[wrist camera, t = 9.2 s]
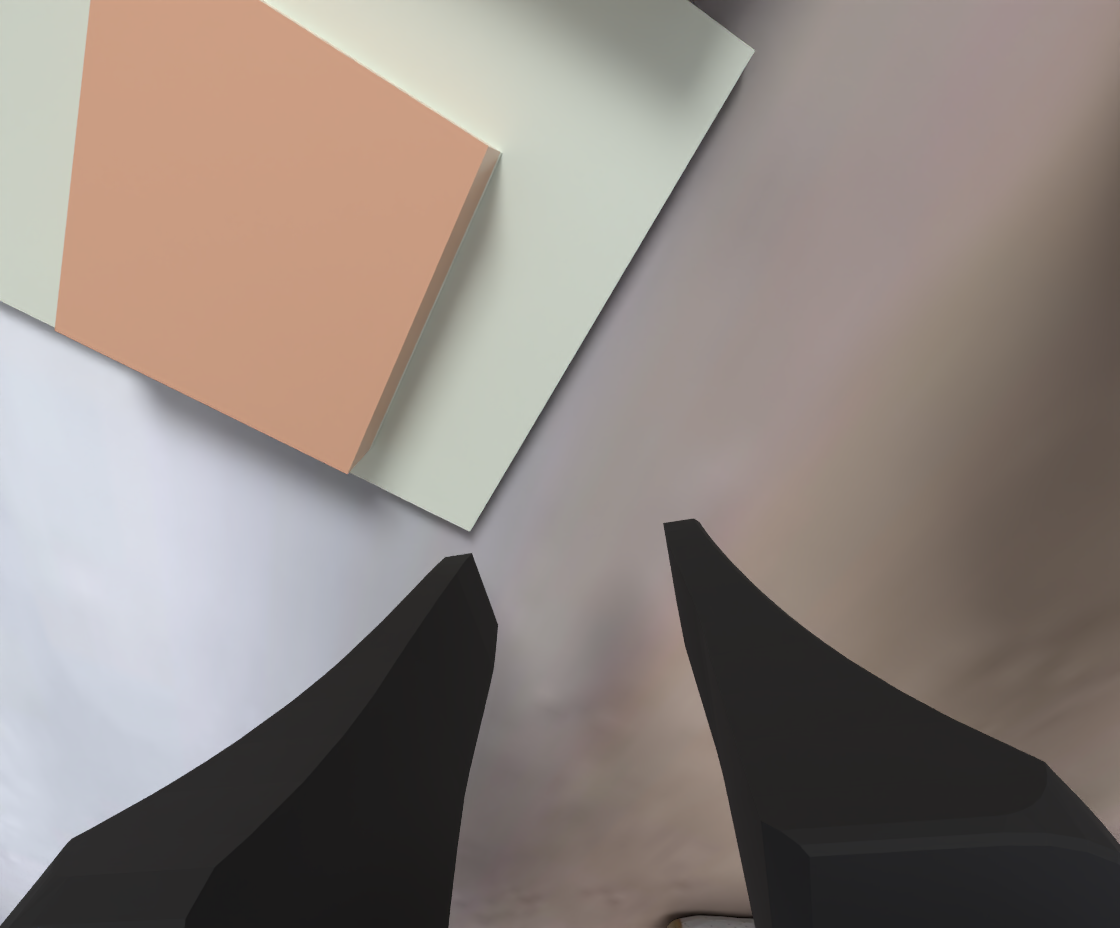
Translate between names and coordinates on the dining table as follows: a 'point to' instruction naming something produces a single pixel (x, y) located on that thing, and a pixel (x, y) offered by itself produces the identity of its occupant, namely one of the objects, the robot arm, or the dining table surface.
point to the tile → (259, 217)
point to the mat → (501, 218)
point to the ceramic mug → (712, 922)
